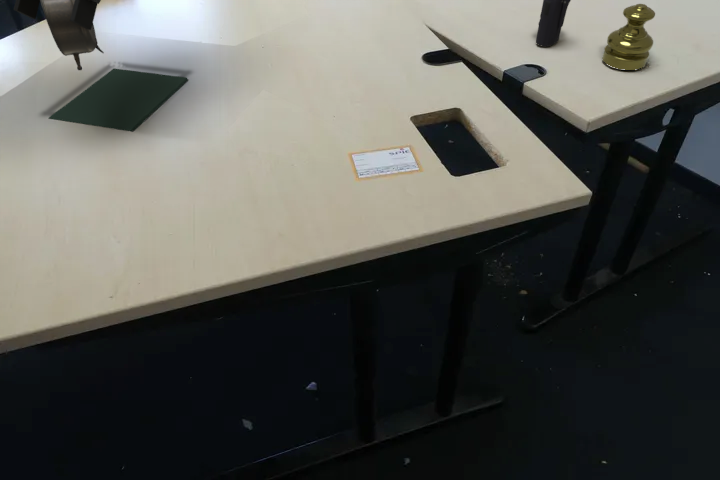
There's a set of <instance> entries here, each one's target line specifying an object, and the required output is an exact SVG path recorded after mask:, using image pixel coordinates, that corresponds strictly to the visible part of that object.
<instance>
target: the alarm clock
mask: <svg viewBox="0 0 720 480" xmlns="http://www.w3.org/2000/svg"><path fill="white" fill-rule="evenodd" d="M74 2H75V0H40V5H41V8H42V11H43V14H44V17H45V20H46V23H47V26H48V28H49V30H50V33H51V35H52V38H53V40H54V42H55V44H56V47H57V48H58V50H59V52H60V53H61V54H62V55H63V56H65V57H68V56H71V55H72V56H73V59H74V61H75V64H76V66H77V67H76V69H77V70H78V71H83V67H82V65H81V58H80V55H82V54H88V53H92V52H94V51H95V50H98V52H100V53H102V54H105V52H104V51H103V49H101V48H100V46H99V45H98V44H99V43H98V39H97V34H96V29H95V24H94V23H93V24H92V28H91V30H88V29H85V28H83V27H81V26H80V25H78V24H76V23H74V22H72V21H70V18H71V14H72V10H73V6H74Z"/></svg>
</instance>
